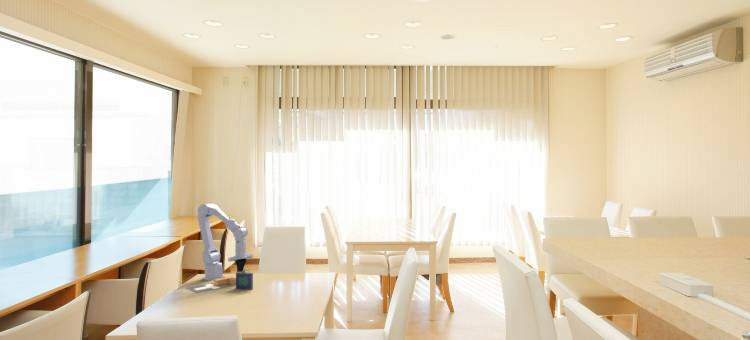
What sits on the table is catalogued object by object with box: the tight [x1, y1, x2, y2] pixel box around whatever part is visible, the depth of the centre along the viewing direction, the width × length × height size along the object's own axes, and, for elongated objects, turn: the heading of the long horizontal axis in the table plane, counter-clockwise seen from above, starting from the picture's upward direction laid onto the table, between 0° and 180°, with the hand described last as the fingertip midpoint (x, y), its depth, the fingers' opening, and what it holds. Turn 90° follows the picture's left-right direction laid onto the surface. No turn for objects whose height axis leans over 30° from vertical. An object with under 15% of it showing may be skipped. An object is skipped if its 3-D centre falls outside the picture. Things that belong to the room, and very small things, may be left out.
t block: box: [213, 274, 236, 286], centre depth 255 cm, size 10×10×3 cm
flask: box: [235, 269, 254, 291], centre depth 246 cm, size 9×3×11 cm, turn 88°
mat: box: [185, 281, 236, 294], centre depth 252 cm, size 31×14×1 cm, turn 136°
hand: (240, 272), depth 262 cm, fingers closed
